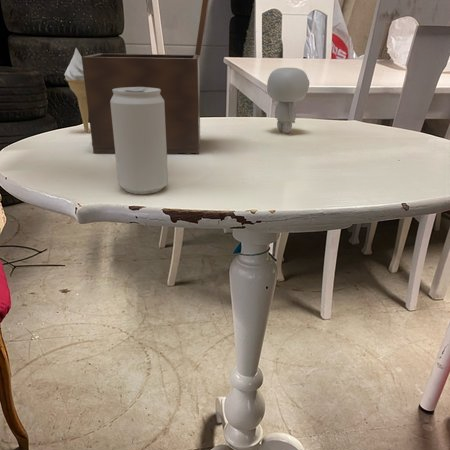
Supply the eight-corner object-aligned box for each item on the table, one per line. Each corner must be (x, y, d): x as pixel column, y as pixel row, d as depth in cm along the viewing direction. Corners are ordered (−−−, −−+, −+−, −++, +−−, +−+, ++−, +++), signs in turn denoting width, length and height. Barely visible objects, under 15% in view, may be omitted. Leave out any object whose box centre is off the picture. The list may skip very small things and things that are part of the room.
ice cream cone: (69, 135, 91) (56, 47, 84) (76, 129, 96) (64, 46, 88) (98, 135, 91) (88, 48, 84) (103, 130, 96) (94, 47, 89)
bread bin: (93, 153, 78) (81, 56, 71) (107, 138, 89) (98, 53, 82) (198, 154, 78) (197, 58, 71) (200, 139, 89) (199, 54, 82)
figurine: (310, 134, 95) (317, 68, 89) (278, 137, 92) (282, 69, 86) (289, 127, 101) (294, 66, 95) (259, 130, 98) (262, 66, 92)
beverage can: (111, 194, 59) (100, 90, 53) (127, 180, 64) (119, 84, 58) (161, 197, 58) (155, 92, 52) (173, 182, 64) (169, 86, 58)
